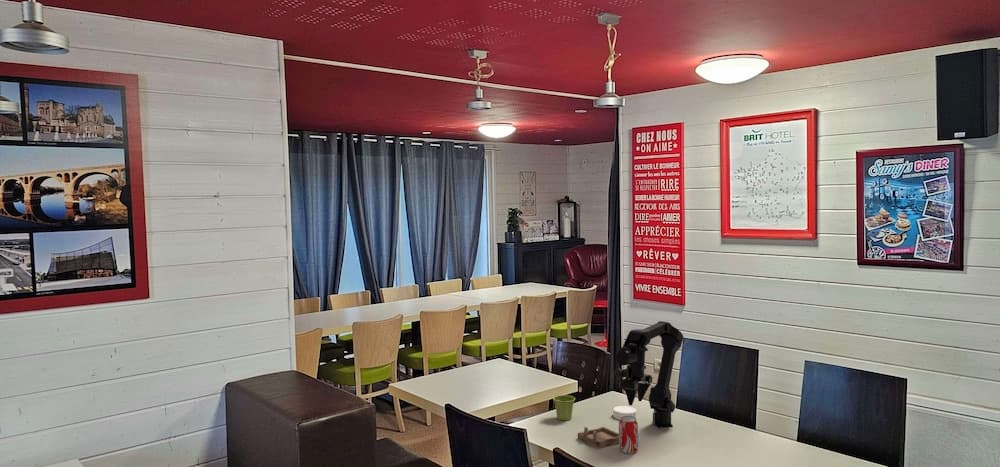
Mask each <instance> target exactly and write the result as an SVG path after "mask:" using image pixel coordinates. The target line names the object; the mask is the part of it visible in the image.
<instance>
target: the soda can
mask: <svg viewBox="0 0 1000 467" xmlns="http://www.w3.org/2000/svg"><path fill="white" fill-rule="evenodd" d="M618 433H619V443H618V449H619V450H620V451H621V453H622V452H623V453H624V454H635V453H636V452H637V451H638V450H639V423H638V421H637V418H635V417H631V416H623V417H621V420H619V422H618Z"/></svg>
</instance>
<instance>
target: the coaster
mask: <svg viewBox="0 0 1000 467" xmlns="http://www.w3.org/2000/svg"><path fill="white" fill-rule="evenodd" d="M612 414H613V415H612V417H613V418H614V419H616V420H618V421H620V420H621V417H623V416H631V417H635V418H636V419H637V414H638V413H637V409H636V408H635V407H633V406H630V405H618V406H614V408H612Z"/></svg>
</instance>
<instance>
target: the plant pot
mask: <svg viewBox="0 0 1000 467" xmlns="http://www.w3.org/2000/svg"><path fill="white" fill-rule="evenodd" d="M552 400H553V401H554V402H553V403H554V406H555V411H556V418H557V420H559V421H561V420H563V421H570V420H571V419H573V418H572V417H573V409H574V408H573V407H574V403H575V400H576V397H574V396H573V395H566V394H564V395H563V394H561V395H560V394H559V395H556V396H554V397H553V398H552Z"/></svg>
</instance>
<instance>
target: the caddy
mask: <svg viewBox="0 0 1000 467" xmlns="http://www.w3.org/2000/svg"><path fill="white" fill-rule="evenodd" d="M583 428H584V429H583V430H584V431H579V432H577V439H578V440H580V441H582V442H584V443H586V444H588V445H590V446H592V447H594V448H596V449H601V448H604V447H610V446H613V445H615V444H616V445H617V444H619V432H616V431H614V430H612V429H610V428H608V427H605V426H601V427H597V428H593V429H589V427H588V426H585V427H583Z"/></svg>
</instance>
